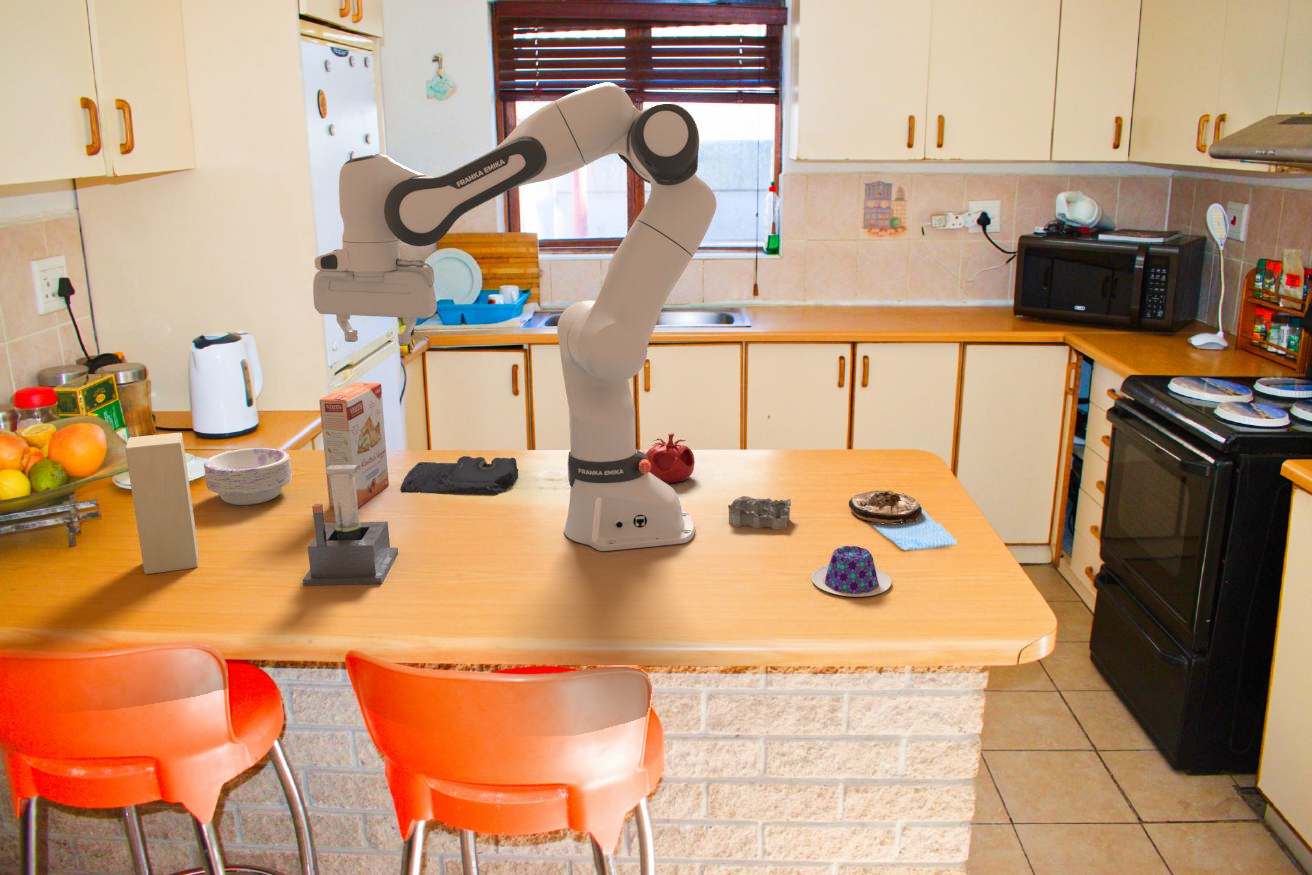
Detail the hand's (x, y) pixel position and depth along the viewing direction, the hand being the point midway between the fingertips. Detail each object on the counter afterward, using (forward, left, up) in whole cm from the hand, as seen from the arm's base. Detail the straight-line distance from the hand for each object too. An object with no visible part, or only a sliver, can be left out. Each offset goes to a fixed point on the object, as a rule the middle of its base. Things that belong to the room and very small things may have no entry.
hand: (378, 342), depth 173 cm
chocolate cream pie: (-87, -4, -34) cm, 93 cm away
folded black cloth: (-8, -26, -34) cm, 43 cm away
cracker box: (+10, -18, -34) cm, 39 cm away
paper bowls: (+31, -19, -34) cm, 50 cm away
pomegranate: (-49, -25, -34) cm, 64 cm away
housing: (+3, +16, -33) cm, 37 cm away
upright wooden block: (+33, +12, -34) cm, 49 cm away
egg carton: (-64, -1, -34) cm, 72 cm away
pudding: (-75, +25, -34) cm, 86 cm away
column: (+3, +16, -32) cm, 36 cm away
